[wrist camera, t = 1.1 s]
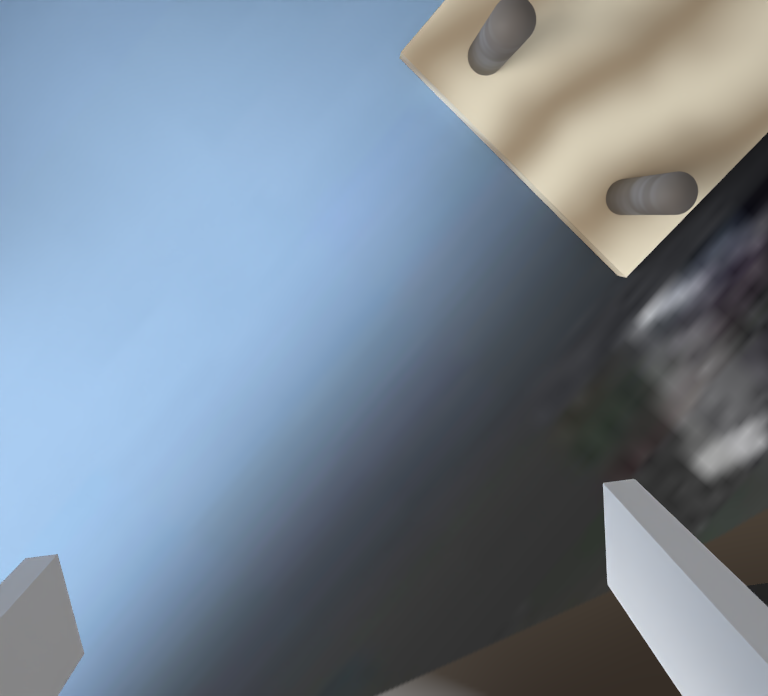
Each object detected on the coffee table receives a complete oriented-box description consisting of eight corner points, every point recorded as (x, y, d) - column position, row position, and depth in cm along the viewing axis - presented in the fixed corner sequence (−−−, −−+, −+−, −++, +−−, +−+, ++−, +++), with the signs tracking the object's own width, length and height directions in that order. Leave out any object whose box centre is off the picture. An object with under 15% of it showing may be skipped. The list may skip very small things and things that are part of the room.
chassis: (399, 57, 33) (409, 15, 26) (663, -253, 31) (754, -393, 24) (617, 275, 36) (679, 289, 29) (875, 10, 34) (1010, -44, 27)
